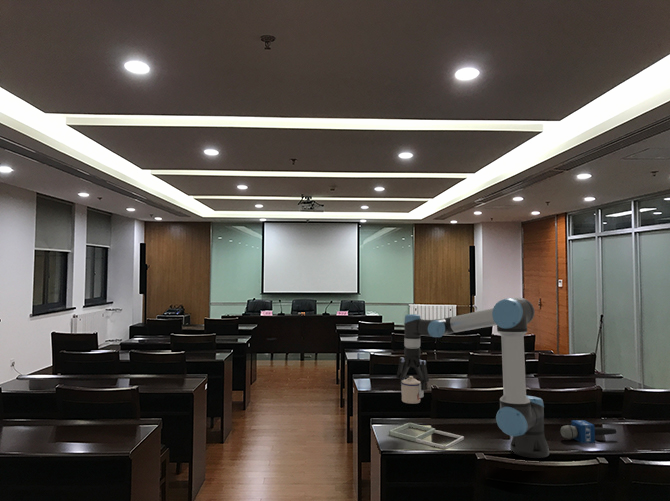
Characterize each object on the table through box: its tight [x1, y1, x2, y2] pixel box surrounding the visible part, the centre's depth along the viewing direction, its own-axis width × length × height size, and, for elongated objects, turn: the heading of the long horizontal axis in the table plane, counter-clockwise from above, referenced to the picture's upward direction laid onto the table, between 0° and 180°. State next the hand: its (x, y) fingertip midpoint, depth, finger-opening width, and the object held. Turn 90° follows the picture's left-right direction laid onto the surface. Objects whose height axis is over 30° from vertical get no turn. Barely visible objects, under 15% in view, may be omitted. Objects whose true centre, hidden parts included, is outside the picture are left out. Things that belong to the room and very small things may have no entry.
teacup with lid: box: [401, 375, 421, 405], centre depth 229 cm, size 12×9×12 cm
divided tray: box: [388, 422, 465, 450], centre depth 223 cm, size 29×17×2 cm, turn 49°
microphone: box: [559, 419, 617, 444], centre depth 220 cm, size 8×8×25 cm
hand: (412, 395), depth 229 cm, fingers closed on teacup with lid, 9 cm apart
